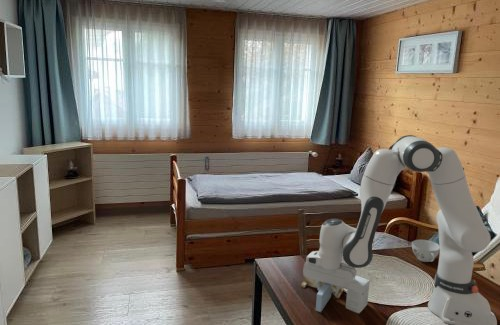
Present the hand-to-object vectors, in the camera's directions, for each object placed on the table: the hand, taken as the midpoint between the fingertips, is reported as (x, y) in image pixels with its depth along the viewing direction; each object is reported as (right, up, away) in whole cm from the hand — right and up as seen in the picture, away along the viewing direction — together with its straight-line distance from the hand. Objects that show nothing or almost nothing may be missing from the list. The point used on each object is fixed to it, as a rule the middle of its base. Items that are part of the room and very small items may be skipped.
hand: (327, 292), depth 147 cm
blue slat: (-2, -3, -3) cm, 5 cm away
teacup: (+54, +3, +34) cm, 64 cm away
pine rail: (-1, -1, +8) cm, 8 cm away
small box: (+10, -4, -4) cm, 12 cm away
